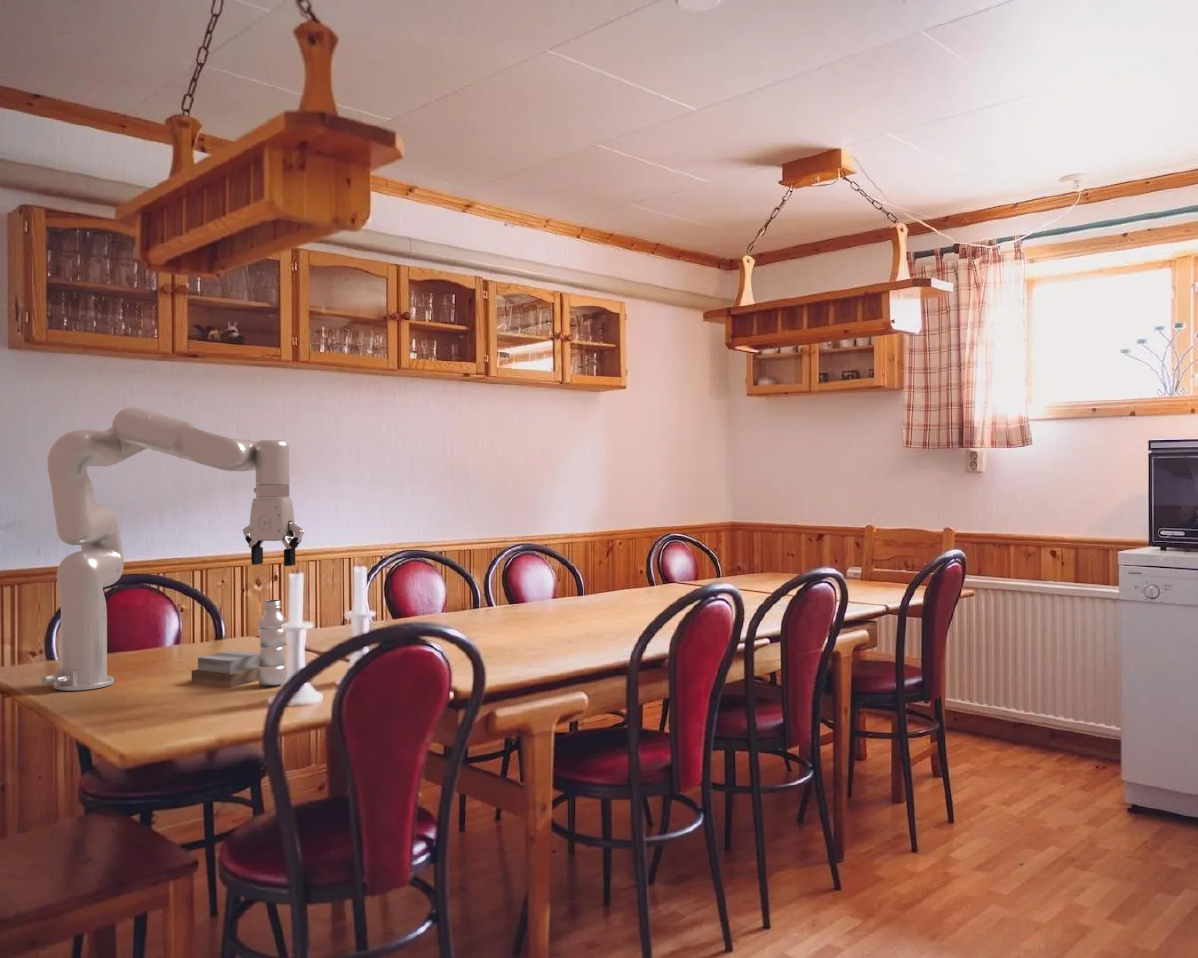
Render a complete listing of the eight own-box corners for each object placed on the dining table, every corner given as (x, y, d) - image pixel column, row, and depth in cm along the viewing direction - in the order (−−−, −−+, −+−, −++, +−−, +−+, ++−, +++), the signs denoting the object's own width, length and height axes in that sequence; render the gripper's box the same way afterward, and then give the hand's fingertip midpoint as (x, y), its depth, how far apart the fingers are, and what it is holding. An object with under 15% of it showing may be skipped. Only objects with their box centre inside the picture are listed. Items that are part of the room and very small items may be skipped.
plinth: (230, 687, 224) (230, 662, 224) (191, 683, 228) (191, 658, 228) (266, 677, 235) (266, 653, 235) (229, 673, 240) (229, 649, 239)
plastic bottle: (252, 685, 227) (252, 600, 226) (279, 680, 231) (279, 598, 231) (264, 689, 222) (264, 603, 222) (292, 685, 227) (292, 600, 226)
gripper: (232, 492, 226) (233, 565, 226) (290, 492, 219) (291, 567, 220) (255, 492, 233) (256, 562, 233) (312, 492, 226) (313, 564, 226)
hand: (273, 564), depth 226 cm, fingers open, 9 cm apart
